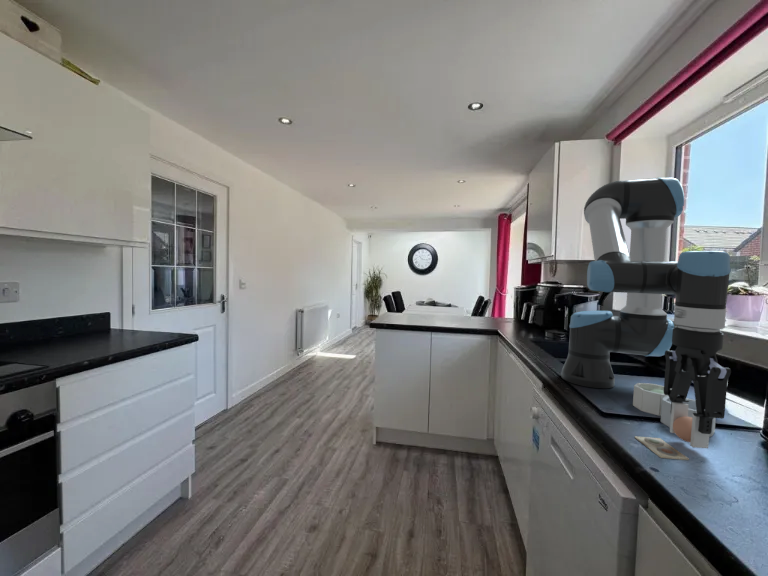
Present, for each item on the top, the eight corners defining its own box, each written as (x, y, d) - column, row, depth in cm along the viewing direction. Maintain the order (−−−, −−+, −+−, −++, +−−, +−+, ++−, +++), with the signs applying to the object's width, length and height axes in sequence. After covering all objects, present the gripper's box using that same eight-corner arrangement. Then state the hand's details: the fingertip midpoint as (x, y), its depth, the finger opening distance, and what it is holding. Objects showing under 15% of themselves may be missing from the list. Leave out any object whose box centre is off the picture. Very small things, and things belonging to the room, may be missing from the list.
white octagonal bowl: (626, 401, 94) (628, 382, 94) (661, 403, 93) (663, 384, 93) (648, 415, 85) (649, 393, 85) (687, 417, 84) (688, 396, 84)
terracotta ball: (666, 434, 72) (667, 411, 72) (691, 436, 72) (693, 413, 71) (683, 446, 67) (685, 422, 67) (711, 448, 67) (713, 424, 66)
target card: (634, 437, 73) (634, 435, 73) (659, 439, 72) (659, 437, 72) (660, 457, 65) (660, 455, 65) (689, 460, 65) (689, 457, 64)
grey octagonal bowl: (653, 417, 84) (654, 395, 84) (692, 419, 83) (694, 397, 83) (680, 434, 75) (682, 410, 75) (725, 437, 74) (727, 413, 74)
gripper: (647, 320, 77) (640, 418, 79) (715, 336, 59) (704, 463, 61) (683, 321, 76) (675, 420, 78) (763, 338, 59) (750, 467, 60)
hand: (688, 439), depth 70 cm, fingers closed on terracotta ball, 5 cm apart
